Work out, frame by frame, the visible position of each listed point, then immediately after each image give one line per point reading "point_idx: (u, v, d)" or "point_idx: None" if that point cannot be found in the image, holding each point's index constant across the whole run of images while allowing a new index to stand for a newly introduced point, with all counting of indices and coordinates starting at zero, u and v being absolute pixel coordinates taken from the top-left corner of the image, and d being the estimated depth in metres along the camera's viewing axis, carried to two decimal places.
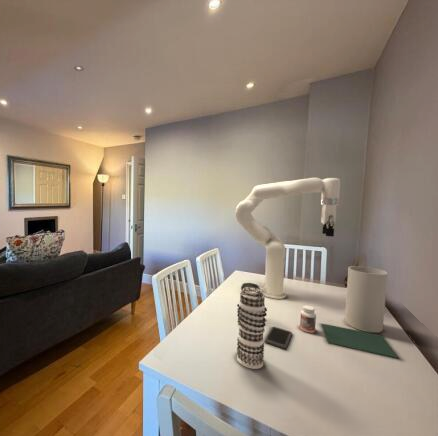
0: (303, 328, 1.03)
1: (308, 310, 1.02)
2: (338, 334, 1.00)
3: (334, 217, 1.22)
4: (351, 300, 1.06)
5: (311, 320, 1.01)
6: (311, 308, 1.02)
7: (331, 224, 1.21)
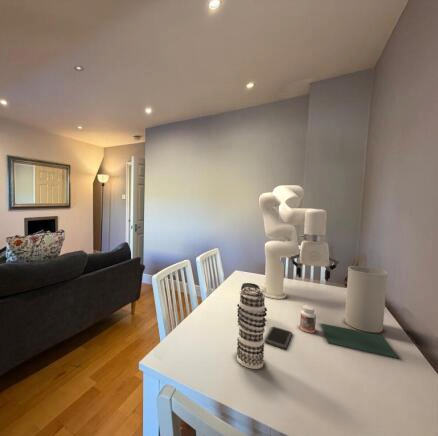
0: (303, 328, 1.03)
1: (308, 310, 1.02)
2: (338, 334, 1.00)
3: None
4: (351, 300, 1.06)
5: (311, 320, 1.01)
6: (311, 308, 1.02)
7: None
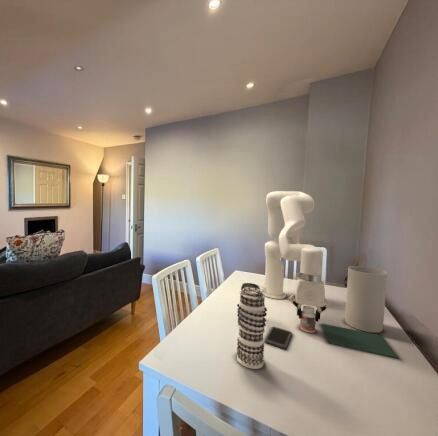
0: (303, 328, 1.03)
1: (308, 310, 1.02)
2: (338, 334, 1.00)
3: None
4: (351, 300, 1.06)
5: (311, 320, 1.01)
6: (311, 308, 1.02)
7: None
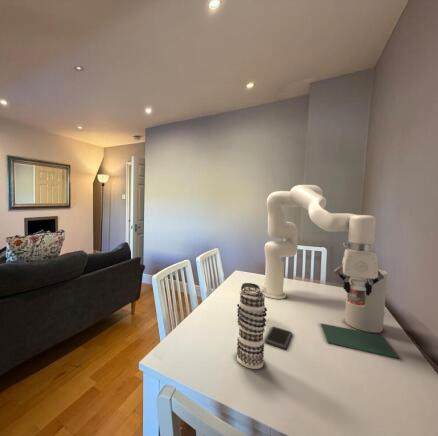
0: (352, 303, 0.95)
1: (358, 283, 0.93)
2: (338, 334, 1.00)
3: None
4: None
5: (361, 293, 0.93)
6: (361, 281, 0.94)
7: None
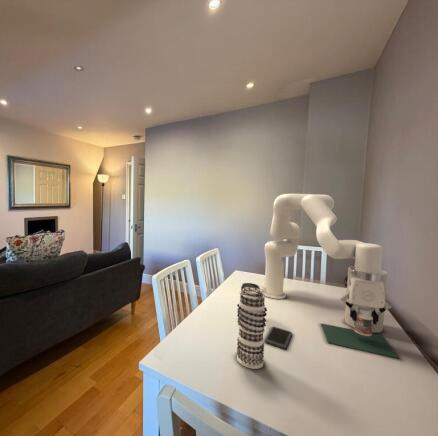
0: (358, 331, 0.94)
1: (365, 312, 0.93)
2: (338, 334, 1.00)
3: None
4: None
5: (368, 322, 0.92)
6: (367, 309, 0.94)
7: None
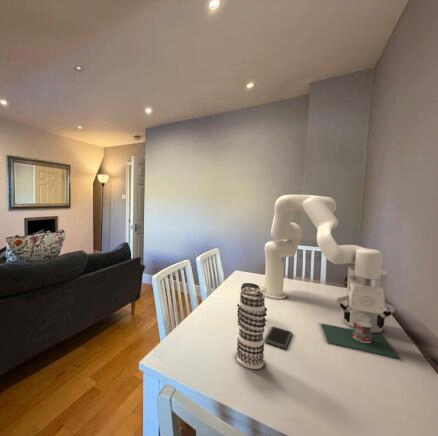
0: (358, 338, 0.95)
1: (364, 319, 0.93)
2: (338, 334, 1.00)
3: None
4: None
5: (367, 330, 0.93)
6: (367, 317, 0.94)
7: None
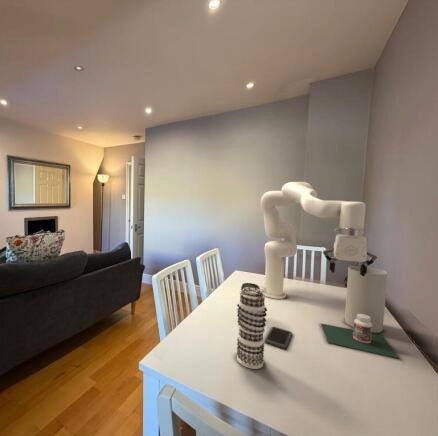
0: (358, 338, 0.95)
1: (364, 319, 0.93)
2: (338, 334, 1.00)
3: None
4: (351, 300, 1.06)
5: (367, 330, 0.93)
6: (367, 317, 0.94)
7: None
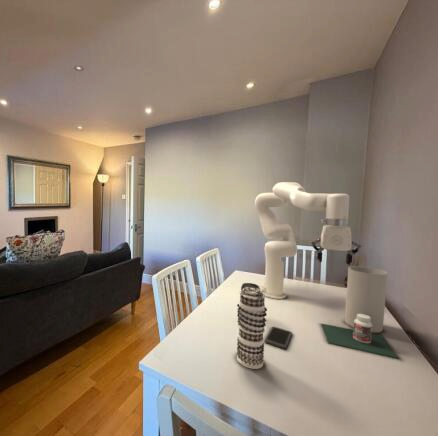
0: (358, 338, 0.95)
1: (364, 319, 0.93)
2: (338, 334, 1.00)
3: None
4: (351, 300, 1.06)
5: (367, 330, 0.93)
6: (367, 317, 0.94)
7: None
